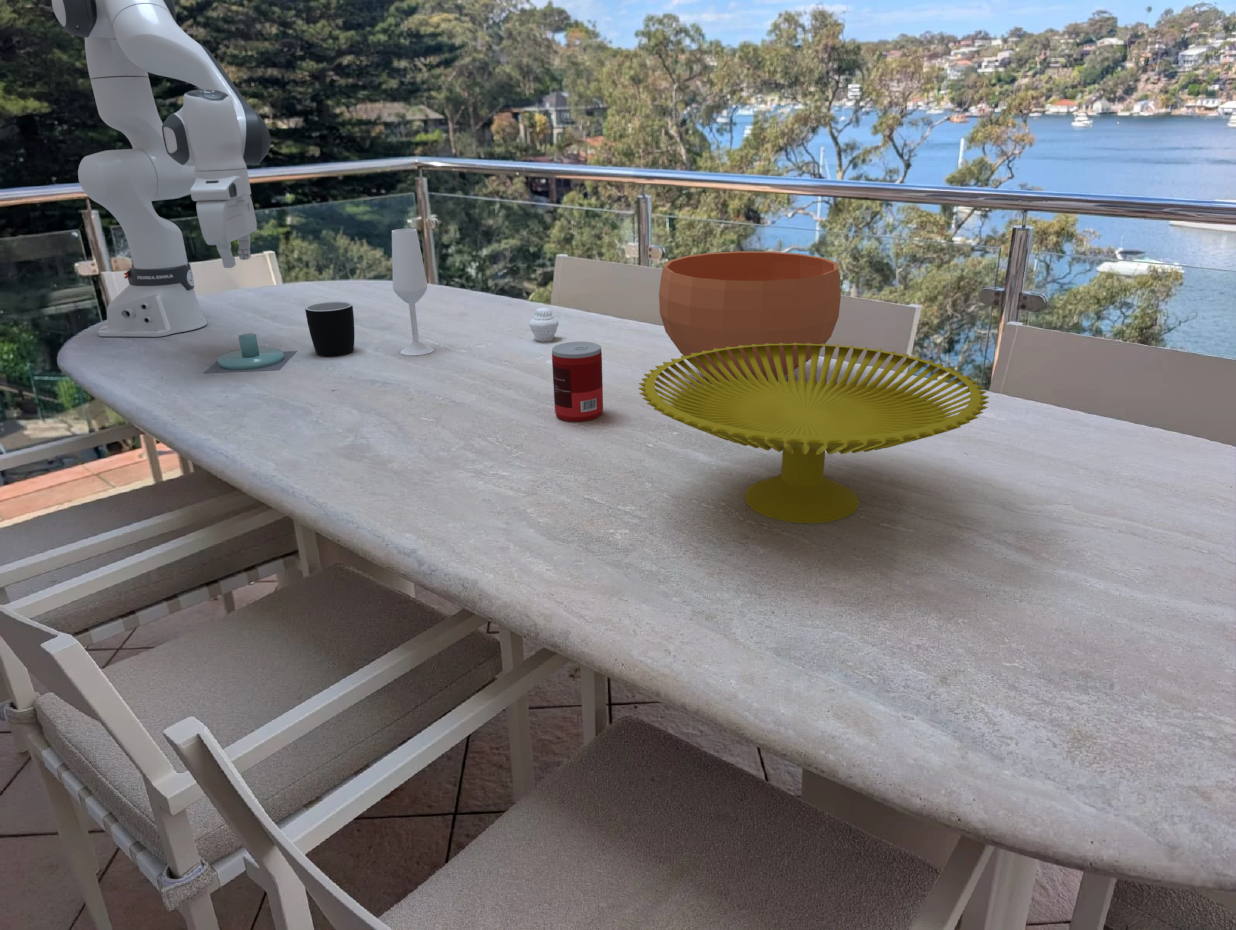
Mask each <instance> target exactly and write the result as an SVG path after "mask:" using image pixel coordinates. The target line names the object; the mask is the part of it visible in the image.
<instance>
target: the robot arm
mask: <svg viewBox="0 0 1236 930" xmlns="http://www.w3.org/2000/svg"><path fill="white" fill-rule="evenodd" d="M51 6H52V10H53V13H54V15H55V17H56V19H57V21H58V24H59V25H60V26H61V28H62V29H63V30H65V31H66V32H67V33H68V35H73V36H76V37H81V38H84V48H85V58H86V65H87V71H88V76H89V79H90V84H91V88H92V92H93V95H94V99H95V104H96V108H97V111H98V115H99V117H100V119H101V120H102V121H103V122H104V123H105V124H106V125H107V126H109V127H110V128H112V129H114V130H117V131H118V132H121V133H122V134H123V135H125V137H126V139H128V141H129V143H130V145H131V146H132V148H130V149H129V148H128V149H127V148H125V149H110V150H108V149H107V150H103V151H99V152H96V153H93V154H89V155H85V156H84V157H83V158H82V159H81V161H80V163H79V165H78V170H77V176H78V178H77V179H78V182H79V184H80V187H81V188H82V191H83V192H84V193H85V195H87V197H88V198H89V199H91V200H92V201H93V202H95V203H97V204H99V205H100V206H102V207H103V208H105V209H106V211H108V212H109V213H110V214H111V215H112V217H114V219H115V220H116V221H117V223H119V226H120V227H121V228H122V231H123V233H124V235H125V239H126V242H127V245H128V248H129V253H130V257H131V260H132V264H133V266H132V267H131V268H130V269H129V270H127V271H126V272H124V273H123V275H124V279H126V280H127V281H128V285H127V286H126V287H125V288H124V289H123V290H122V291H121V292H120V293H119V294H118V295H117V296H116V297H115V298H113V299H112V301H111V302H109V304H108V305H107V308H106V321H107V322H106V323H107V324H104V325H103V326H101V327H100V328H99V329H98V332H97V333H98V336H99V337H135V338H137V337H151V338H152V337H154V338H155V337H165V336H168V335H169V336H170V335H172V334H178V333H183V332H190V331H193V330H197V329H200V328H203V327H205V326H206V325H208V321H207V319H206V317H205V315H204V313H203V311H202V309H201V307H200V304H199V301H198V298H197V295H196V291H195V279H194V275H193V271H192V268H191V263H189V262H188V258H187V256H188V255H187V252H186V247H185V241H184V237H183V233H182V231H181V228H180V227H178V225H177V224H175V223H174V222H173V221H170V220H169V219H167V218H164V217H161V216H159V214H158V213H157V212H156V210H155V208H154V205H153V203H152V202H155V201H166V200H175V199H181V198H183V197H187V196H189V195H190V197H191V201H193V202H196V205H195V207H196V214H197V218H198V223H199V227H200V230H201V231H200V232H201V233H202V234H201V235H202V238H203V239H204V241H205V243H206V245H208V246H216V250H217V252H218V254H219V256H220V258H221V262H222V267H224V268H225V269H232V268H233V267H235V266H236V264H237V263H236V258H235V256H233V255H234V254H233V252H232V250H231V249H232V243H231V242H234V241H236V240H237V242H238V250H237V254H238V257H239V260H241V261H246V260H250V259H251V257H252V254H251V249H250V248H251V240H252V239H251V236H250V234H252V233H255V232H257V230H258V229H257V228H258V222H257V217H256V213H255V208H254V204H253V201H252V197H251V195H252V190H251V184H250V178H249V173H248V167H247V166H258V165H259V163H261V162H262V161H263V160H264V158H265V157H266V156H267V154H268V153H269V151H270V150H271V145H272V144H271V142H272V141H271V135H270V131H269V128H268V126H267V124H266V122H265V120H264V119H263V118H262V117H261V116H260V115H259V114H258V113H257V111H256V110H255V109H254V108H253V107H251V105H249V103H248V102H247V100H246V99H245V98H244V96H243V95H242V94H241V92H240V91H239V89H238V88H237V86H236V85H235V84H234V82H233V81H232V80H231V78H230V77H229V76H228V75H229V74H227V72H226V71H225V70H224V69H223V67H222V65H221V64H220V63H219V61H218V60H217V59H216V58H215V56H214V54H213V53H212V52H211V51H210V49H208V48H207V47H206V46H204V45H203V44H201V43H199V42H197V41H196V40H194V39H193V38H192V37H191V36H190V35H188V33H186V32H185V31H184V29H182V28H181V27H180V26H179V24H177V8H176V4H175V0H51ZM149 73H150V74H153V75H156V76H160V77H161V76H162V77H166V78H171V79H175V80H178V81H181V82H186V83H188V84H191V85H193V86H195V87H197V88H199V89H194V90H193V89H192V90H189V91H187V92H185V93H184V94H183V99H182V100H183V102H182V103H183V105H182V107H181V108H179V110H177V111H176V112H174V113H173V112H172V113H171V114H169V115H168V116H167V118H166V119H165V121H164V122H163V121H162V119H161V117H160V115H159V112H158V108H157V105H156V102H155V98H154V94H153V91H152V86H151V82H150V78H149Z"/></svg>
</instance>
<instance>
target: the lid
mask: <svg viewBox="0 0 1236 930" xmlns="http://www.w3.org/2000/svg"><path fill="white" fill-rule="evenodd" d="M238 342H239V347H240V349H238V350H233V351H230V352H226V353H223V354H222V355H220V356H218V358H217V361H218V364H219V367H220V368H223V369H227V370H250V369H258V368H264V367H268V366H272V365H275V364H278V363H280V362H282V361H283V360H284V353H283V351H284V350H282V349H279V348H275V347H259V345H258V344H259V343H258V339H257V333H243V334H240V335H238Z"/></svg>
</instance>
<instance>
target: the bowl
mask: <svg viewBox="0 0 1236 930" xmlns="http://www.w3.org/2000/svg"><path fill="white" fill-rule="evenodd" d="M658 289H659V291H658V301H659V304H658V305H659V315H660V317H661V320H662V325H663V329H664V331H665V333H666V334H667V336H668V337H669V339H670V340H671V342H672V344H674V346H675V347H676V348H677V350H678V351H679V353H680V354H681V356H689V355H691V353H701V352H702V351H712V350H713V348H717V349H722V348H726V347H738V346H739V345H742V346H750V345H752V344H755V345H764V344H766V343H768V344H779V343H783V344H792V343H799V344H808V343H810V344H823V343H824V344H826V343H827V342H828V341H829V340H830V338H832V335H833V332H834V329H835V327H836V325H837V321H838V319H839V315H840V308H841V298H842V297H841V296H842V295H841V283H840V272H839V267H838V263H837V262H835V261H833V260H830V259H827V258H826V257H820V256H815V255H809V254H804V253H792V252H780V251H757V250H756V251H754V250H753V251H752V250H751V251H748V250H747V251H746V250H745V251H744V250H743V251H741V250H738V251H722V252H721V251H719V252H708V253H699V254H690V255H684V256H681V257H677V258H674V259H671V260H670V259H669V260H668V261H667V262H666V263H665V264H664V265H663V268H662V272H661V274H660V284H659V288H658ZM765 347H766V353H767V357H768V361H769V364H770V367H771V370H772V372H773V374H774V376H775V378H776V380H777V382H778V376H777V371H776V367H775V363H774V359H773V356H772V353H771V350H770V348H769V346H765ZM823 347H824V346H821V349H822V348H823ZM739 350H740V353H741V355H742V357H743V359H744V361H745V363H746V365H747V367H748V368H749V370H750V372H751V373H752V375H753V376H754V377H755V378H756V379H757V380H758V378H757V376H756V373H755V371H754V369H753V367H752V365H751V363H750V361H749V359H748V357H747V355H746V353H745V352H744V350H743V349H742V348H739ZM752 350H753V353H754V356H755V358H756V361H757V364H758V366H759V368H760V370H761V372H762V374H763V375H764V377H765V378H766V380H767V381H768V377H767V374H766V371H765V368H764V365H763V362H762V360H761V357H760V355H759V353H758V351H757V349H756V347H755V346H754V347H752ZM727 352H728V354H729V356H730V358H731V360H732V361H733V363H734V364H735V366H736V367H737V369H738V370H739V371H740V373H741V374H742V375H743V376H744V377H745V378H746V379H747V380H748V378H747V376H746V374H745V372H744V371H743V369H742V367H741V366H740V364H739V362H738V361H737V359H736V358H735V356H734V355H733V353H732V352H731V351H730V349H727ZM779 353H780V359H781V365H782V369H783V373H784V376H785V377H786V376H788V369H787V362H786V356H785V352H784V348H783V346H782V345H779ZM715 354H716V355H717V357H718V358H719V360H720V361H721V363H722V364H723V365H724V367H725V368H726V369H727V370H728V371H729V373H730V374H731V375H732V376H733V377H734V378H735V379H737V377H736V375H735V374H734V372H733V371H732V370H731V368H730V367H729V365H728V364H727V363H726V361H725V360H724V359H723V357H722V356H721V355H720V354H719V353H718V352H717V351H716V352H715ZM704 356H705V357H706V359H707V360H708V361H709V363H710V364H711V365H712V366H713V367H714V369H715V370H716V371H717V372H718V373H719V374H720V375H722V376H723V377H724V378H725V379H726V380H728V378H727V377H726V376H725V375H724V373H723V372H722V371H721V370H720V368H719V367H718V366H717V365H716V364H715V362H714V361H713V360H712V359H711V358H710V357H709V356H708V355H707V354H706V353H705V354H704ZM693 358H694V359H695V360H696V361H697V363H698V364H699V365H700V366H701V367H702V368H703V369H704V370H705V371H706V372H707V373H708V374H709V375H711V376H712V377H713V378H714V379H716V380H717V381H718V382H720V381H719V380H718V379H717V378H716V377H715V376H714V375H713V373H712V372H711V371H710V370H709V369H708V368H707V367H706V366H705V365H704V364H703V363H702V362H701V361H700V360H699V359H698V358H697V357H696V356H694V357H693ZM809 361H811V345H807V349H806V360H805V364H806V363H808V362H809ZM793 366H794V371H795V370H797V369H799V359H798V350H797V345H793ZM737 380H738V379H737ZM728 381H729V380H728ZM738 381H739V380H738ZM748 381H749V380H748ZM729 382H730V381H729ZM720 383H721V382H720Z"/></svg>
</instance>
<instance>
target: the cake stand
mask: <svg viewBox="0 0 1236 930" xmlns="http://www.w3.org/2000/svg"><path fill="white" fill-rule="evenodd" d="M779 345H782V346H783V348H784V352H785V356H786V362H787V369H788V375H787V379H786V376H784V373H783V369H782V365H781V359H780V353H779ZM793 345H797V350H798V359H799V367H798V379H796V374H795V370H794V366H793ZM807 345H811V359H810V368H809V369H810V370H809V376H808V380H807V378H806V363H805V360H806V349H807ZM754 346H755V347H756V349H757V351H758V353H759V355H760V357H761V360H762V362H763V365H764V368H765V371H766V374H767V377H768V381H767V380H766V378H765V377H764V375H763V374H762V372H761V370H760V368H759V366H758V364H757V361H756V358H755V356H754V353H753V350H752V347H754ZM765 346H769V348H770V350H771V353H772V356H773V359H774V363H775V367H776V371H777V376H778V382H777V380H776V378H775V376H774V374H773V372H772V370H771V367H770V364H769V361H768V357H767V353H766V347H765ZM821 346H823V347H824V357H823V363H822V367H821V368H822V369H821V372H820V376H819V379H818V382H817V372H818V363H819V356H820V353H821V350H822V348H821ZM739 348H742V349H743V350H744V352H745V353H746V355H747V357H748V359H749V361H750V363H751V365H752V367H753V369H754V371H755V373H756V376H757V378H758V380H757V379H756V378H755V377H754V376H753V375H752V373H751V372H750V370H749V368H748V367H747V365H746V363H745V361H744V359H743V357H742V355H741V353H740V350H739ZM836 348H838V353H837V358H836V361H835V365H834V368H833V372H832V373H831V377H830V379H829V380H828V375H829V374H828V373H829V369H830V364H831V361H832V357H833V355H834V353H835V352H834V351H835V349H836ZM727 349H730V351H731V352H732V353H733V355H734V356H735V358H736V359H737V361H738V362H739V364H740V366H741V367H742V369H743V371H744V372H745V374H746V376H747V378H748V380H749V381H748V380H747V379H746V378H745V377H744V376H743V375H742V374H741V373H740V371H739V370H738V369H737V367H736V366H735V364H734V363H733V361H732V360H731V358H730V356H729V354H728V352H727ZM850 349H852V352H851V355H850V359H849V361H848V364H847V366H846V369H845V370H844V373H843V375H842V377H841V378H840V380H839V381H838V378H839V375H840V371H841V370H842V366H843V364H844V362H845V358H846V357H847V355H848V353H849V350H850ZM716 351H717V352H718V353H719V354H720V355H721V356H722V357H723V359H724V360H725V361H726V363H727V364H728V365H729V367H730V368H731V370H732V371H733V372H734V374H735V375H736V377H737V379H738V380H739V381H738V380H737V379H735V378H734V377H733V376H732V375H731V374H730V373H729V371H728V370H727V369H726V368H725V367H724V365H723V364H722V363H721V361H720V360H719V358H718V357H717V355H716V354H715V352H716ZM863 351H866V353H865V356H864V358H863V360H862V361H861V363H860V365H859V367H858V368H857V371H856V373H855V374H854V376H853V377H852V379H850V376H851V375H852V371H853V370H854V368H855V365H856V364H857V362H858V361H859V358H860V357H861V356H862V353H863ZM878 352H879V356H878V358H877V360H876V361H875V363H873V366H872V367H871V368H870V370H869V372H868V373H867V375H866V376H865V377H864V378H863V379H862V380H861V381H860V379H861V377H862V376H863V374H864V373H865V370H866V369H867V367H868V366H869V364H870V363H871V361H872V360H873V359H874V357H875V356H876V354H877V353H878ZM705 353H706V354H707V355H708V356H709V357H710V358H711V359H712V360H713V361H714V362H715V364H716V365H717V366H718V367H719V368H720V370H721V371H722V372H723V373H724V375H725V376H726V377H727V378H728V380H729V381H730V382H729V381H728V380H726V379H725V378H724V377H723V376H722V375H720V374H719V373H718V372H717V371H716V370H715V369H714V367H713V366H712V365H711V364H710V363H709V361H708V360H707V359H706V357H705V356H704V354H705ZM891 355H892V358H891V359H890V361H889V362H888V364H887V365H885V367H884V368H883V370H882V371H881V372H880V374H879V375H878V376H877V377H876V378H875V379H874V380H872V378H873V377H874V376H875V374H876V373H877V371H878V370H879V369H880V367H881V366H882V365H883V364H884V363H885V361H886V360H887V359H888V358H889V357H890V356H891ZM694 356H696V357H697V358H698V359H699V360H700V361H701V362H702V363H703V364H704V365H705V366H706V367H707V368H708V369H709V370H710V371H711V372H712V373H713V375H714V376H715V377H716V378H717V379H718V380H719V381H720V382H721V383H720V382H718V381H717V380H716V379H714V378H713V377H712V376H711V375H709V374H708V373H707V372H706V371H705V370H704V369H703V368H702V367H701V366H700V365H699V364H698V363H697V361H696V360H695V359H694V358H693V357H694ZM903 358H905V360H904V361H903V362H902V363H901V364H900V366H899V367H898V368H897V369H896V370H895V371H894V373H892V375H890V377H889V378H887V379H886V380H885V381H884V382H882V381H883V379H884V378H885V377H886V376H887V375H888V374H889V373H890V372H891V370H892V369H893V368H894V367H895V366H896V365H897V364H898V363H899V362H900V361H901V360H902V359H903ZM921 358H922V357H921V356H918V357H917V356H916V357H915V356H910V355H909V354H908V353H903V354H902V353H896V352H895V351H885V350H882V348H880V349H879V348H877V349H871V348H868V347H867V346H866V347H858V346H857V347H856V346H854V345H848V346H847V345H840V344H826V343H825V344H824V343H823V344H810V343H808V344H799V343H792V344H783V343H779V344H768V343H766V344H764V345H755V344H752V345H750V346H742V345H739V346H738V347H726V348H722V349H717V348H713V350H712V351H702V352H701V353H691V355H689V356H683V355H680V358H670V360H671V361H665V362H662V364H663V365H655V368H656V369H649V372H650V373H644V374H643V375H644V376H645V378H641V381H643V382H638V385H640V386H641V387H638V390H641V392H639V393H638V394H639V395H641V396H643V397H642V398H641V399H643V400H644V401H647V402H646V404H647V405H649V406H651V407H653V408H652V409H654V410H655V411H658V412H660V414H661V415H663V416H666V417H669V418H671V419H672V420H674V421H678V422H680V423H682V424H683V425H684V424H685V425H686V426H689V427H691V428H694V429H696V430H699V431H701V432H704V433H706V434H710V435H711V436H714V437H717V438H719V439H722V440H724V441H728V442H732V443H733V444H739V445H741V446H744V447H747V446H749V447H752V448H754V449H758V448H761V449H763V450H765V451H770V450H771V449H773V450H774V451H776V452H778V453H781V452H782V453H781V454H782V455H781V456H782V459H781V474H778V475H774V476H772V477H771V476H770V477H769V478H764V479H762V480H758V481H757V482H755V483H753V484H751V485H750V486H749V487H748V488H747V489H746V490H745V494H744V501H745V503H746V504H747V505H748V507H749V508H751V509H752V510H753V511H754V512H756V513H758V514H761V515H762V516H765V517H767V518H769V519H775V520H777V521H783V522H788V523H797V524H818V523H819V524H823V523H829V522H834V521H838V520H841V519H845V518H847V517H848V516H849V517H850V515H853V513H855V512H856V511H857V509H858V508H859V497H858V496H857V494H856V493H855V492H854V491H853V490H852V489H851V488H848V487H847V486H846V485H843V484H841V483H839V482H836V481H834V480H833V479H830V478H827V477H825V476H824V474H825V473H824V472H825V459H826V458H825V457H826V452H827V455H833V454H836V453H839V454H841V455H844V454H848V453H850V452H851V453H853V454H857V453H861V452H864V453H866V452H871V451H879V450H883V449H888V448H892V447H896V446H899V445H903V444H906V443H908V444H909V443H912V442H915V441H919V440H922V439H926V438H929V437H933V436H936V435H939V434H943V433H948V432H950V431H952V430H956V429H959V428H962V426H963V425H967V424H970V423H971V422H972V421H973V420H977V419H979V418H980V417H979V416H978V415H981V414H984V413H985V412H984V411H983V410H985V409H988V408H989V407H988V406H985V405H987V404H988V403H990V401H987V399H989V398H990V396H987V395H984V394H986V393H987V391H986V390H981V389H983V388H984V385H983V386H982V385H977V383H978V381H977V380H976V381H975V380H971V379H972V376H968V375H963V374H964V372H963V371H954V370H955V368H954V367H945V366H944V364H943V363H934V360H929V359H928V360H927V359H921ZM685 360H686V361H688V362H689V363H690V364H691V365H692V366H693V367H694V368H695V369H696V370H698V371H699V372H700V373H701V374H702V375H703V376H704V377H705V378H706V379H705V378H704V377H702V376H701V375H700V374H698V373H697V372H696V371H695V370H694V369H693V368H692V367H690V365H689V364H688V363H687V362H685ZM915 361H917V362H916V363H915V364H914V365H913V366H912V368H911V369H909V371H907V372H906V373H905V375H904V376H902V378H900V379H898V380H897V381H896V382H895V380H896V379H897V378H898V377H899V376H900V375H901V374H902V373H903V372H904V371H905V370H906V369H907V368H908V367H910V366H911V365H912V364H913V363H914V362H915ZM678 365H679V366H681V367H682V368H683V369H685V371H687V372H688V373H689V374H691V376H693V377H694V378H695V379H696V380H695V379H694V378H692V377H691V376H690V375H688V374H687V373H686V372H685V371H684V370H683V369H681V368H680V367H679V366H678ZM926 365H928V366H927V367H926V368H925V369H924V370H923V371H921V373H920V374H919V373H918V375H917V376H916V377H915V378H914V379H912V380H911V381H909V382H908V383H906V381H908V380H909V379H910V378H912V376H913V375H914V374H916V373H917V372H918V371H919V370H921V369H922V368H923V367H924V366H926ZM670 368H671V369H670ZM938 368H939V369H938ZM672 369H673V370H674V371H676V372H677V373H678V374H680V376H682V377H684V379H686V380H687V381H685V380H684V379H683V378H681V377H680V376H679V375H678V374H676V373H675V372H673V371H672ZM936 369H938V370H936ZM934 370H936V371H935V373H933V374H931V376H929V377H928V378H926V379H925V380H924V381H923V382H921V383H920V384H917V383H919V381H921V380H922V379H923V378H925V377H926V376H928V375H929V374H930V373H932V372H933V371H934ZM665 373H666V374H665ZM945 373H947V374H946V375H945V376H944V377H942V378H941V379H939V380H938V381H936V382H935V383H934V384H932V385H930V386H929V387H927V388H925V389H923V388H924V387H926V385H928V384H930V383H931V382H933V381H935V380H936V379H937V378H940V377H941V376H942V375H944V374H945ZM667 374H668V375H669V376H671V377H672V378H673V379H675V380H676V381H678V382H679V383H680V384H679V383H677V382H676V381H675V380H673V379H672V378H670V377H669V376H668V375H667ZM659 376H660V377H661V378H662V379H661V378H660V377H659ZM954 377H956V378H954ZM952 378H954V379H953V380H951V379H952ZM663 379H665V380H666V381H667V382H669V383H670V384H672V385H674V386H676V387H674V386H672V385H670V384H669V383H667V382H666V381H664V380H663ZM849 379H850V381H849ZM707 380H708V381H707ZM827 380H828V381H827ZM871 380H872V381H871ZM949 380H951V381H949ZM688 381H689V382H690V383H689V382H688ZM848 381H849V382H848ZM859 381H860V382H859ZM870 381H871V382H870ZM947 381H949V382H948V383H946V384H945V385H943V386H942V387H940V388H938V389H936V390H935V391H933V390H934V389H935V388H937V387H939V386H941V385H942V384H943V383H945V382H947ZM837 382H838V383H837ZM881 382H882V383H881ZM893 382H894V383H893ZM961 382H962V383H961ZM880 383H881V384H880ZM892 383H893V384H892ZM904 383H906V384H905V385H903V384H904ZM959 383H961V384H959ZM660 384H662V385H663V386H662V385H660ZM681 384H682V385H681ZM891 384H892V385H891ZM915 384H917V385H916V386H914V385H915ZM957 384H959V385H958V386H956V387H954V388H953V389H950V388H951V387H953V386H955V385H957ZM902 385H903V386H902ZM664 386H665V387H664ZM913 386H914V387H913ZM911 387H913V388H911ZM657 388H659V389H660V390H659V389H657ZM964 388H965V389H964ZM921 389H923V390H921ZM947 389H950V390H948V391H947V392H945V393H943V394H941V395H938V394H940V393H942V392H944V391H946V390H947ZM961 389H963V390H961ZM920 390H921V391H920ZM960 390H961V391H960ZM663 391H664V392H663ZM931 391H932V392H931ZM958 391H960V392H958ZM665 392H666V393H665ZM929 392H930V393H929ZM956 392H958V393H956ZM954 393H956V394H954ZM969 393H970V394H969ZM952 394H954V395H952ZM965 394H968V395H965ZM937 395H938V396H937ZM949 395H952V396H950V397H947V396H949ZM963 395H965V396H964V397H962V396H963ZM946 397H947V398H946ZM959 397H961V398H959ZM943 398H944V399H943ZM957 398H959V399H957ZM955 399H956V400H955ZM968 399H969V400H968ZM952 400H954V401H952ZM966 400H967V401H966ZM950 401H952V402H950ZM964 401H965V402H964ZM948 402H950V403H948ZM961 402H962V403H961ZM954 405H955V406H954ZM964 406H965V407H964ZM962 407H963V408H962ZM959 408H960V409H959Z"/></svg>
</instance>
